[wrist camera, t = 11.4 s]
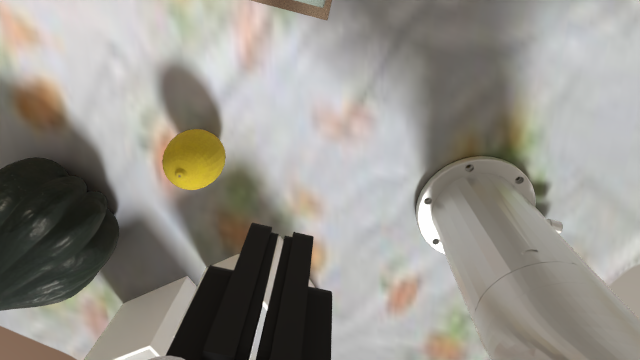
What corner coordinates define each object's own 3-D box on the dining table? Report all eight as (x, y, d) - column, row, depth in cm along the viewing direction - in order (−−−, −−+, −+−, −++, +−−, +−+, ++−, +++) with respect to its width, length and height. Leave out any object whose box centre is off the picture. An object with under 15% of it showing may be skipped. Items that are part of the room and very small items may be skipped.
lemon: (194, 109, 38) (161, 135, 31) (242, 137, 39) (221, 167, 32) (174, 151, 41) (139, 184, 33) (220, 176, 42) (196, 213, 34)
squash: (71, 139, 35) (-139, 243, 27) (159, 258, 41) (11, 370, 33) (49, 138, 45) (-107, 213, 37) (122, 233, 51) (3, 314, 43)
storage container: (280, 234, 45) (264, 301, 35) (322, 297, 49) (318, 372, 39) (124, 302, 51) (72, 375, 41) (173, 352, 55) (137, 430, 45)
